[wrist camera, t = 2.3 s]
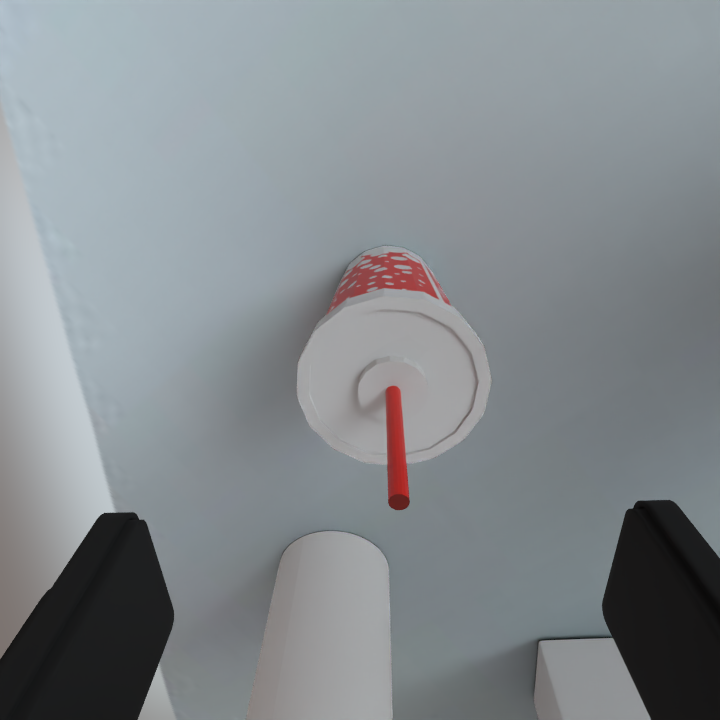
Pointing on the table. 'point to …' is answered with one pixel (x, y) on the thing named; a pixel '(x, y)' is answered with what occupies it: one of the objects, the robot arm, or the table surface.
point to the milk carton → (585, 682)
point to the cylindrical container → (327, 634)
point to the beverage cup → (392, 368)
